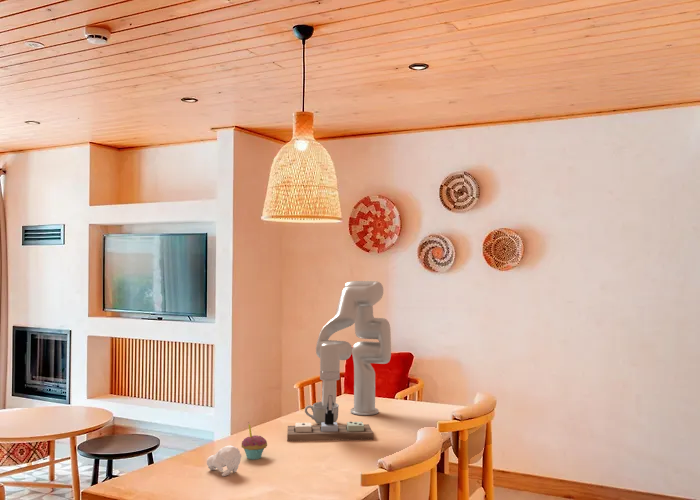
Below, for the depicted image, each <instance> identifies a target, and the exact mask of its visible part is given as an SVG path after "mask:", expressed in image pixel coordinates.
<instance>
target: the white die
mask: <svg viewBox="0 0 700 500" xmlns="http://www.w3.org/2000/svg"><path fill="white" fill-rule="evenodd" d="M338 425H339V424H338V422H337V421H336V422H334V424H325V422H321V432H336V431H338Z"/></svg>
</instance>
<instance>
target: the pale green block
mask: <svg viewBox="0 0 700 500" xmlns="http://www.w3.org/2000/svg"><path fill="white" fill-rule="evenodd" d="M346 425H347V431H364V422H363V421H347V422H346Z"/></svg>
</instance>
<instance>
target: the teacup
mask: <svg viewBox="0 0 700 500" xmlns="http://www.w3.org/2000/svg"><path fill="white" fill-rule="evenodd" d="M308 409H310V410H311V412H312V414H310V413H309V412H308ZM304 413H305V414H306V416H308V417H309V418H311V420H313V421H315V423H316V424H317V425H321V422H325V413H326V406H324V407H323V405H322V401H319V402H318V401H317V402H315V403H313V404H312V405H311V404H310V405H309V404H308V405H306V406H305V407H304ZM333 413H334V422H337V421H338V418H339V404H338V403H336V404H335V406H333Z"/></svg>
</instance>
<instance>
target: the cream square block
mask: <svg viewBox="0 0 700 500" xmlns="http://www.w3.org/2000/svg"><path fill="white" fill-rule="evenodd" d="M311 425H312V422H295V424H294V426H295V432H311Z"/></svg>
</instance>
